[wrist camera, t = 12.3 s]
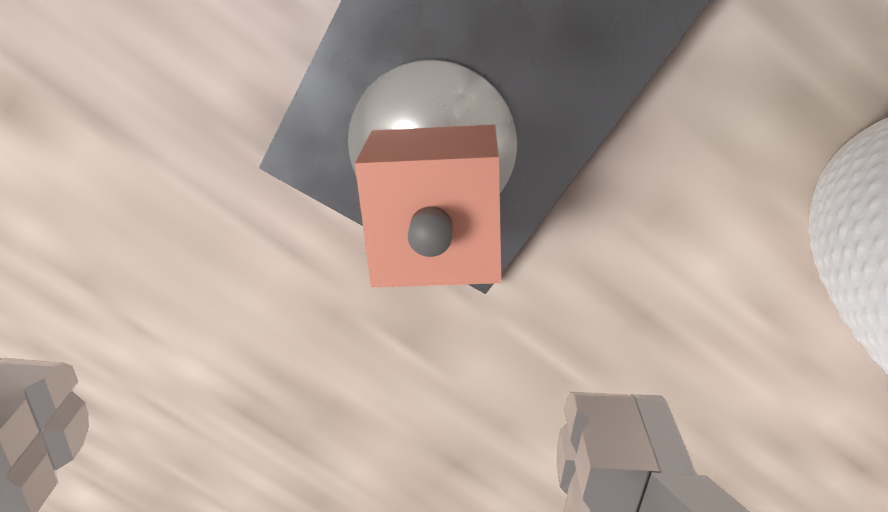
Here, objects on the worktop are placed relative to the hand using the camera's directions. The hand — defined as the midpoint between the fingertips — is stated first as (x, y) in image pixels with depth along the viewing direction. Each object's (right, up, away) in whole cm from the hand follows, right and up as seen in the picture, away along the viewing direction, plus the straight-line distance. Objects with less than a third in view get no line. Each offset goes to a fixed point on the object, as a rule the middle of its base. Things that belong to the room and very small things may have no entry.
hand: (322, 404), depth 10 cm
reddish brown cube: (+2, +6, +17) cm, 18 cm away
